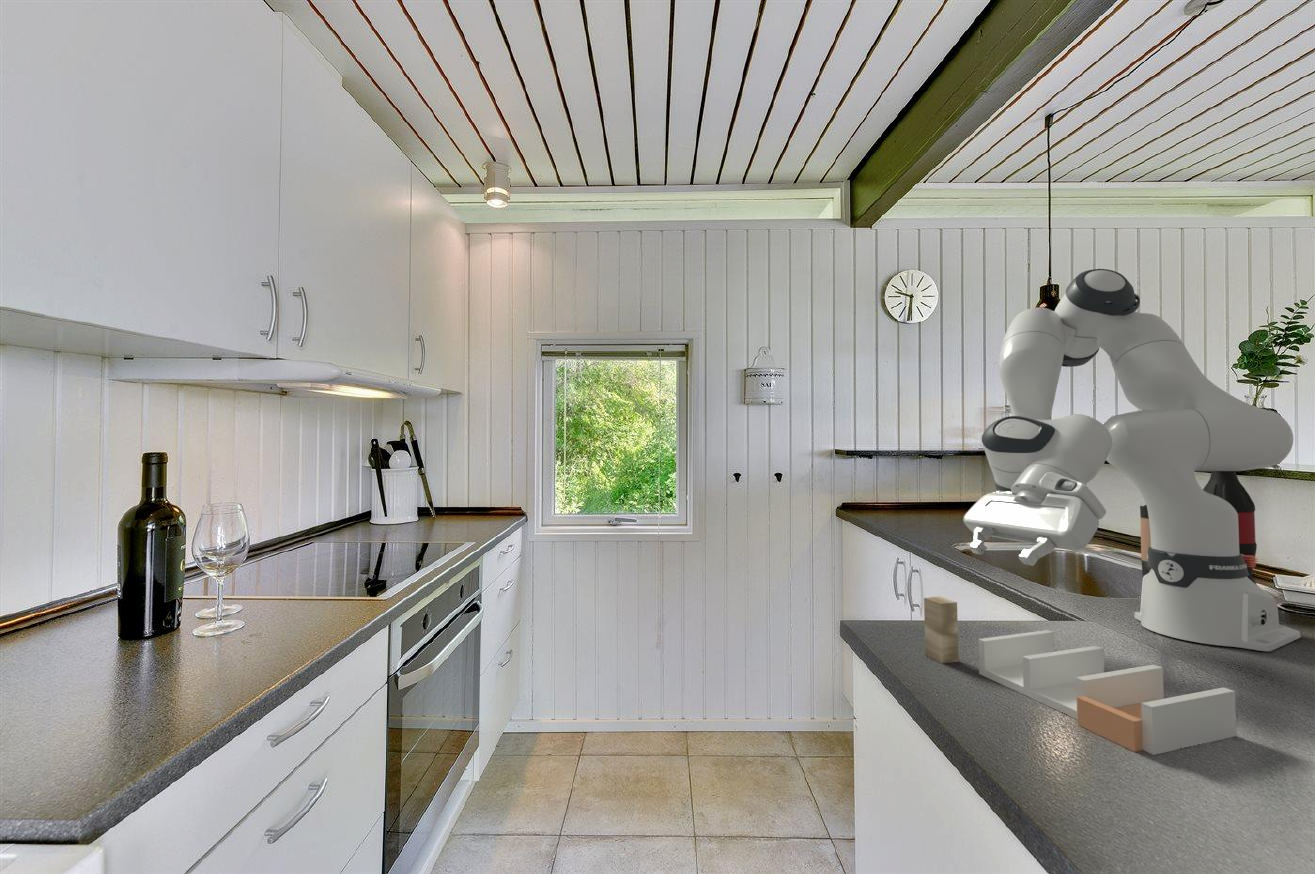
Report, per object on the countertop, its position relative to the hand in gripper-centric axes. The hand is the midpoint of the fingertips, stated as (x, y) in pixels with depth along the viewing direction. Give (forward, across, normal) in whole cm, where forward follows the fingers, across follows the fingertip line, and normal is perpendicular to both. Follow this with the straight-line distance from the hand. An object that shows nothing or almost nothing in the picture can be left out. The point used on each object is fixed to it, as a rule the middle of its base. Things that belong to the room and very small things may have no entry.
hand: (998, 556), depth 89 cm
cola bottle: (-35, -6, +57) cm, 67 cm away
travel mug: (-28, -10, +49) cm, 57 cm away
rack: (+14, +18, +7) cm, 24 cm away
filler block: (+19, 0, +2) cm, 19 cm away
